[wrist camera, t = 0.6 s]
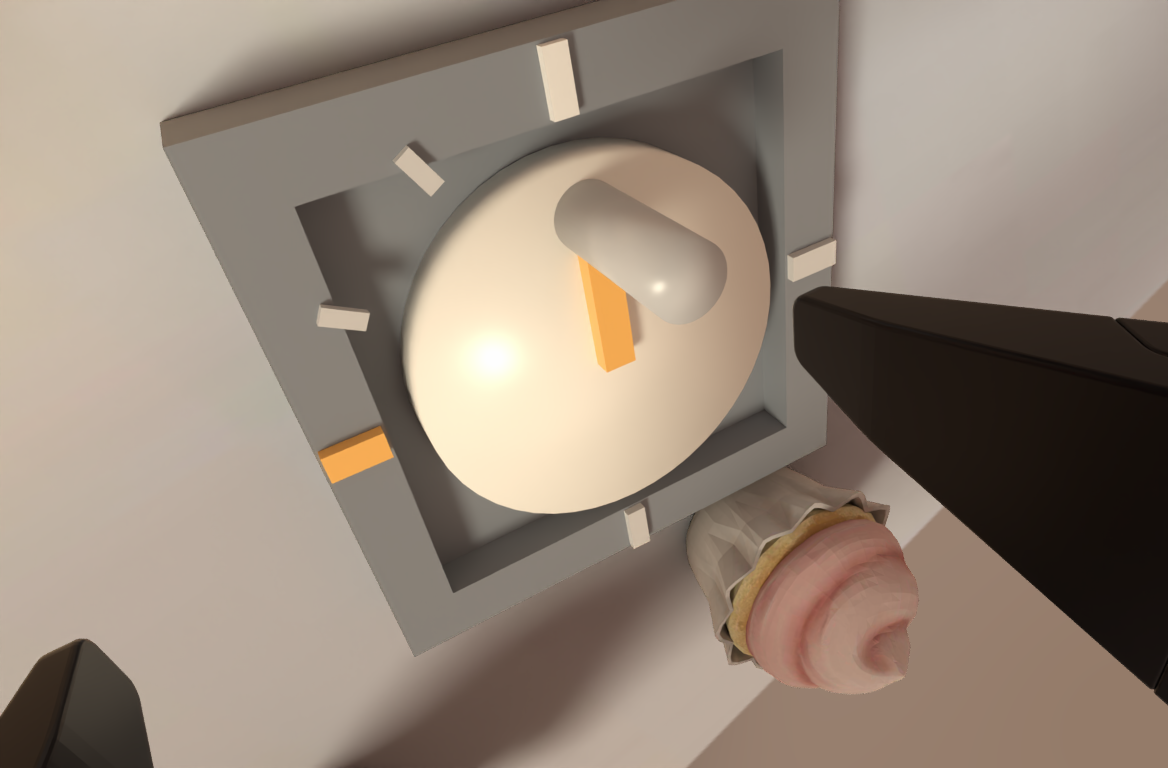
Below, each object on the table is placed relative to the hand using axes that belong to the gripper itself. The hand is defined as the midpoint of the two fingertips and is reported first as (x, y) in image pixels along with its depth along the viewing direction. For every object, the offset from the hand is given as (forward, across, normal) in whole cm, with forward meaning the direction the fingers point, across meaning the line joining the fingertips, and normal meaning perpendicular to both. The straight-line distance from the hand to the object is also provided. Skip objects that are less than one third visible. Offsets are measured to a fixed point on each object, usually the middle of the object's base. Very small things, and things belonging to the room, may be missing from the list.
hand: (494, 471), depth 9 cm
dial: (+13, -6, +7) cm, 16 cm away
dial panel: (+14, -6, +7) cm, 17 cm away
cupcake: (+14, -12, +21) cm, 28 cm away
